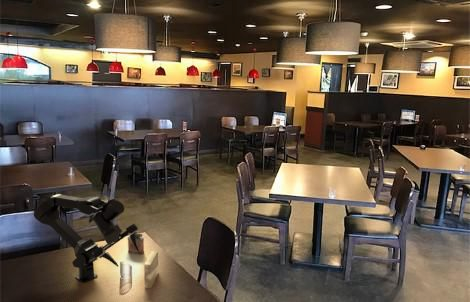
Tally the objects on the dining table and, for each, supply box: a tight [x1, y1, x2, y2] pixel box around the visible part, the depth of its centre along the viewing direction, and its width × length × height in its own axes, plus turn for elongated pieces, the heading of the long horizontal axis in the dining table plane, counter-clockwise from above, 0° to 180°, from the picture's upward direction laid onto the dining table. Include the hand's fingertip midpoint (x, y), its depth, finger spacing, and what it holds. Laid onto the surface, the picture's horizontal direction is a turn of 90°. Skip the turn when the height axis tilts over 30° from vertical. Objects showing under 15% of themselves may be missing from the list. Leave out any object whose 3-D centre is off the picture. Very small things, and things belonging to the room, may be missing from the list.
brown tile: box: [143, 250, 159, 289], centre depth 149 cm, size 3×12×10 cm, turn 178°
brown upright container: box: [127, 232, 145, 256], centre depth 173 cm, size 8×3×10 cm, turn 76°
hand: (128, 258), depth 142 cm, fingers open, 9 cm apart
